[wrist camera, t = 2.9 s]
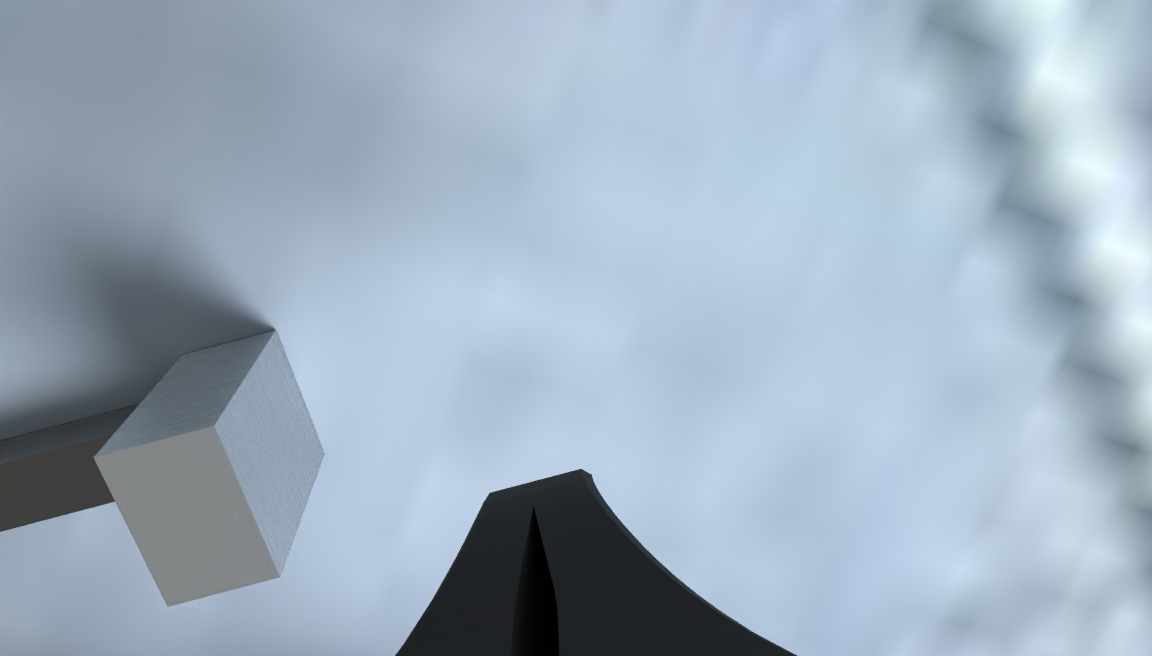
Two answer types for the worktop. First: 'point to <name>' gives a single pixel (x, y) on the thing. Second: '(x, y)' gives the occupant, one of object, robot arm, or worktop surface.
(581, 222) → the worktop surface
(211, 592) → the plug
